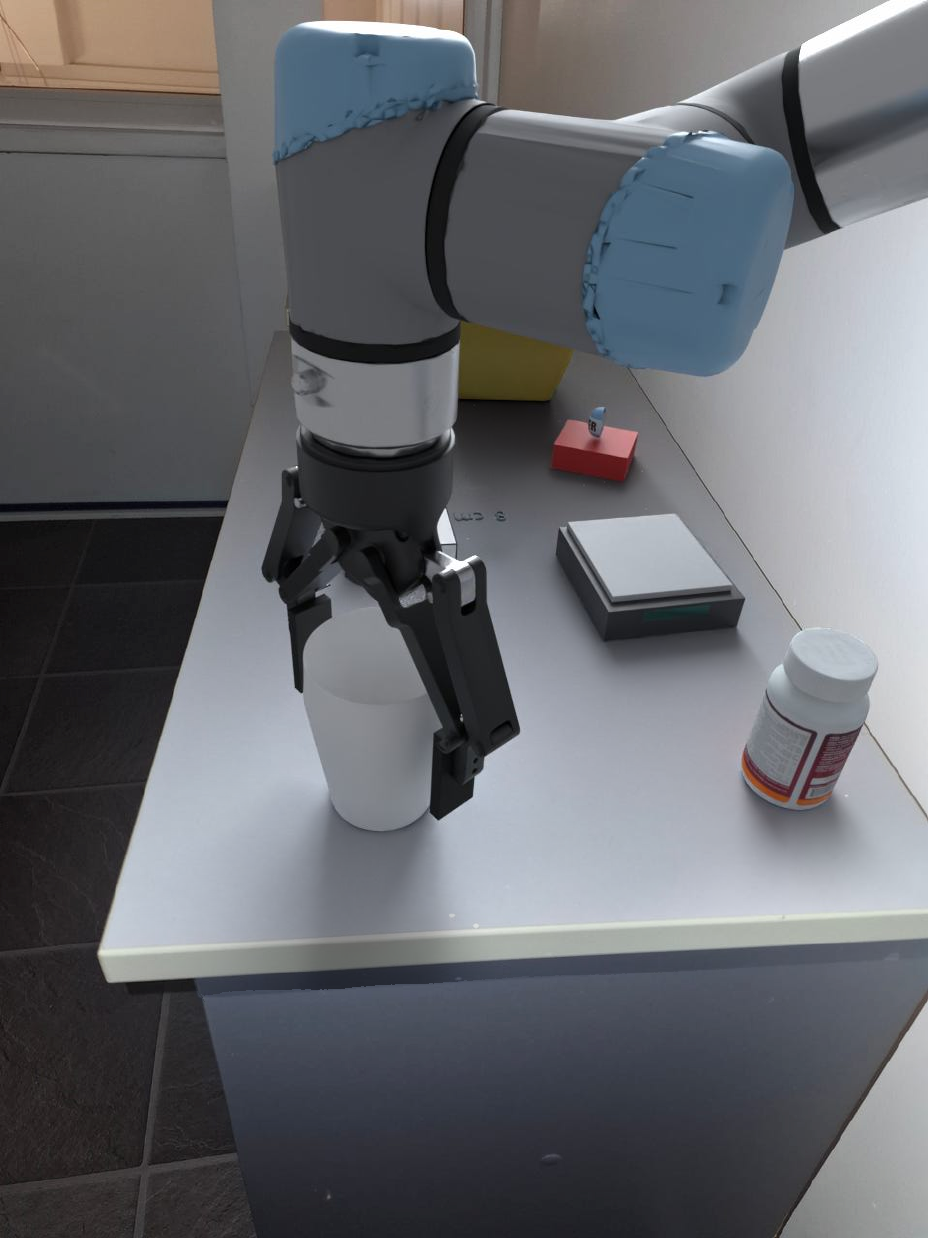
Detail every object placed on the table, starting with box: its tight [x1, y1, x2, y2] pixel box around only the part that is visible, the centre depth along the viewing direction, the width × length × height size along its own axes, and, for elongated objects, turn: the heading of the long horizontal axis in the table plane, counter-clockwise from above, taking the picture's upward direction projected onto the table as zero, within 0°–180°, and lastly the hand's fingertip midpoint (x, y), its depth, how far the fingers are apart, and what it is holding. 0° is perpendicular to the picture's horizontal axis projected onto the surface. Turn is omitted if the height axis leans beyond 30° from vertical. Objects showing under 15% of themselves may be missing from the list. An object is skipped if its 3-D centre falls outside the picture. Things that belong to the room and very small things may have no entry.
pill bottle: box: [740, 626, 879, 811], centre depth 55 cm, size 6×6×11 cm
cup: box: [302, 605, 442, 832], centre depth 52 cm, size 9×9×12 cm
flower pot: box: [458, 321, 575, 402], centre depth 107 cm, size 19×19×17 cm
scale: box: [555, 513, 746, 642], centre depth 75 cm, size 13×12×4 cm
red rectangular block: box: [550, 406, 639, 483], centre depth 93 cm, size 8×7×6 cm
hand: (378, 739), depth 53 cm, fingers open, 13 cm apart
